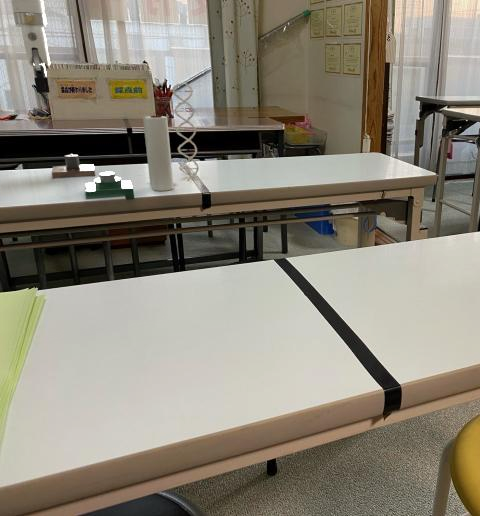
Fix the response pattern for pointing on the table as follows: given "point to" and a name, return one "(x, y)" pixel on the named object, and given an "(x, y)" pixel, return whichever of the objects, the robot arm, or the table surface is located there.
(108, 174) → the button
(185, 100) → the dna model
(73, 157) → the dial
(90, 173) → the warmer panel
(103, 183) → the green stepped block
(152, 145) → the paper towel roll
